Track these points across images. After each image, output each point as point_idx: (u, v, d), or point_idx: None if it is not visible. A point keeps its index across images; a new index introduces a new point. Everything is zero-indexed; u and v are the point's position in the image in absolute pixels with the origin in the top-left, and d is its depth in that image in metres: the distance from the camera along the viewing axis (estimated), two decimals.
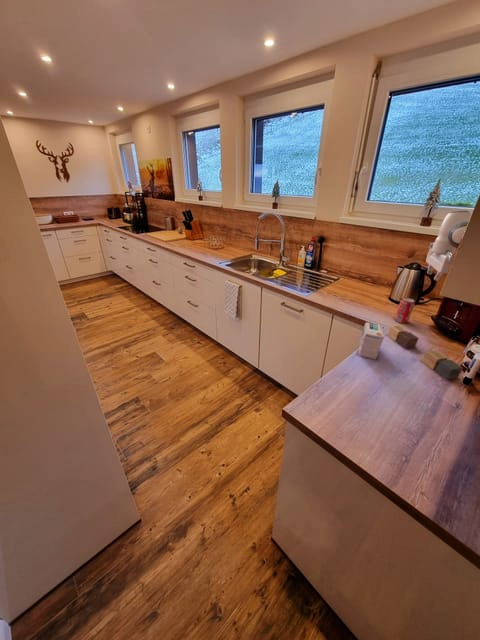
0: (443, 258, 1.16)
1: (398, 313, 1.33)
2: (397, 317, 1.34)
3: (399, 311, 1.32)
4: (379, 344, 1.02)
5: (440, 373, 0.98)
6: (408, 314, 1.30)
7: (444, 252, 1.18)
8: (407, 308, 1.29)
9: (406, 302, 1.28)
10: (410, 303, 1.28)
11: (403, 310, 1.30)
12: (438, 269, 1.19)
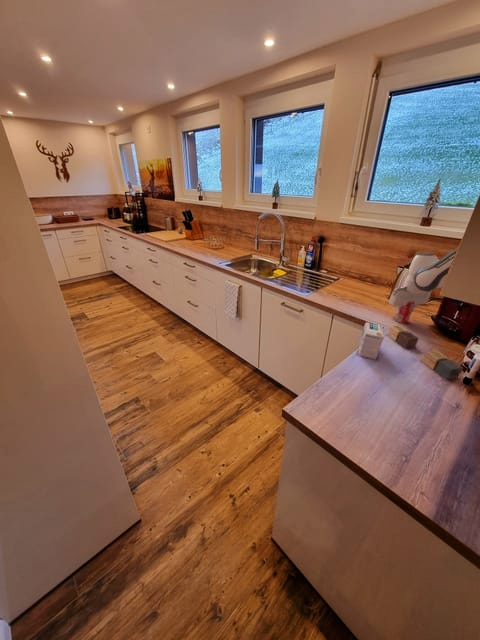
0: None
1: (397, 313, 1.33)
2: (397, 317, 1.34)
3: None
4: (379, 344, 1.02)
5: (440, 373, 0.98)
6: (408, 314, 1.30)
7: None
8: (407, 308, 1.29)
9: None
10: (410, 303, 1.28)
11: (403, 310, 1.30)
12: None
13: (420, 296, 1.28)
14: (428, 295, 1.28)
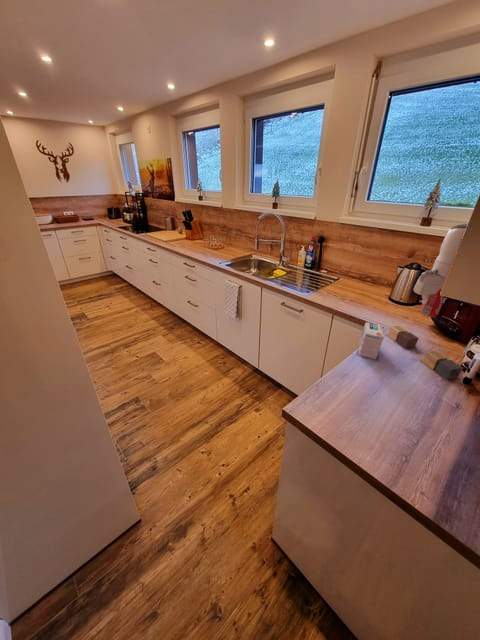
0: None
1: (424, 304, 1.05)
2: (423, 309, 1.06)
3: None
4: (379, 344, 1.02)
5: (440, 373, 0.98)
6: (438, 305, 1.02)
7: None
8: (438, 297, 1.01)
9: None
10: None
11: (431, 300, 1.02)
12: None
13: None
14: None
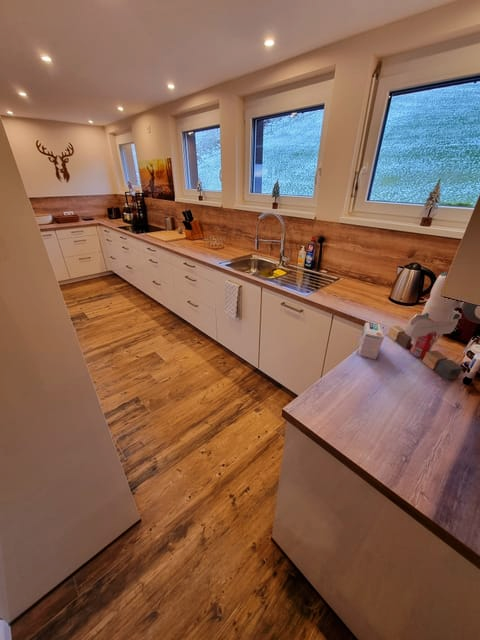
0: None
1: (415, 345, 1.07)
2: (414, 350, 1.07)
3: (417, 343, 1.06)
4: (379, 344, 1.02)
5: (440, 373, 0.98)
6: (428, 348, 1.04)
7: None
8: (428, 340, 1.02)
9: None
10: (431, 335, 1.02)
11: (422, 342, 1.04)
12: None
13: (444, 324, 1.02)
14: (454, 323, 1.02)
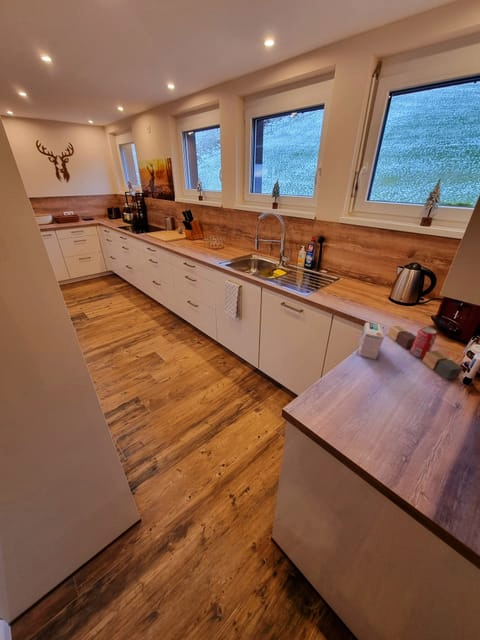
0: None
1: (415, 345, 1.07)
2: (414, 350, 1.07)
3: (417, 343, 1.06)
4: (379, 344, 1.02)
5: (440, 373, 0.98)
6: (428, 348, 1.04)
7: None
8: (428, 340, 1.02)
9: (426, 333, 1.02)
10: (431, 335, 1.02)
11: (422, 342, 1.04)
12: None
13: None
14: None
